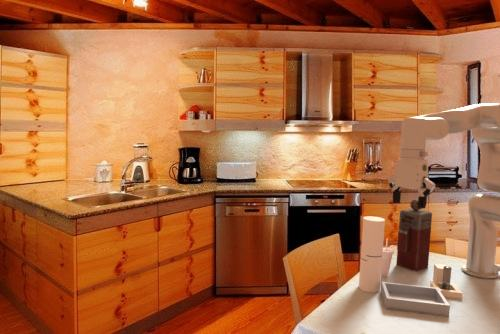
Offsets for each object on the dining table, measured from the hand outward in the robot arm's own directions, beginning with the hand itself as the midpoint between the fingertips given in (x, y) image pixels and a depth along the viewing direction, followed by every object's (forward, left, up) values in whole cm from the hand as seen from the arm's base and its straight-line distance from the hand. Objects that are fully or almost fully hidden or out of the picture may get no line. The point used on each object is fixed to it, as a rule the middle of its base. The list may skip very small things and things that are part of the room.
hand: (408, 205), depth 124 cm
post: (-15, -5, -31) cm, 34 cm away
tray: (-2, +7, -31) cm, 32 cm away
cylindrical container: (+11, -1, -31) cm, 33 cm away
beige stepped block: (-15, -7, -31) cm, 35 cm away
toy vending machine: (-8, -28, -31) cm, 42 cm away
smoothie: (+4, -17, -31) cm, 35 cm away
